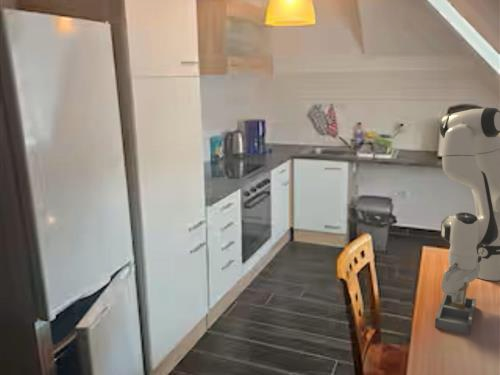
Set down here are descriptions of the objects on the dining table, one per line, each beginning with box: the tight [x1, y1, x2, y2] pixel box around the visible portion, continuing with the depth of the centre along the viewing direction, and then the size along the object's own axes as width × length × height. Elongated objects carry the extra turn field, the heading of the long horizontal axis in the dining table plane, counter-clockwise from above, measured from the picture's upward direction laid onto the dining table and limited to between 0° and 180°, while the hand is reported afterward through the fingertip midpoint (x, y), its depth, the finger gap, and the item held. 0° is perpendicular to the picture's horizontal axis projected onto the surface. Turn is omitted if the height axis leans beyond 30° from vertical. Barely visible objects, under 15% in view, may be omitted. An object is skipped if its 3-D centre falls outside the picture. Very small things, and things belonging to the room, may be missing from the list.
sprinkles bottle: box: [452, 276, 468, 309], centre depth 165 cm, size 5×5×13 cm
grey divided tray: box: [434, 292, 477, 336], centre depth 162 cm, size 20×10×4 cm, turn 150°
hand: (458, 296), depth 165 cm, fingers closed on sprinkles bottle, 4 cm apart
